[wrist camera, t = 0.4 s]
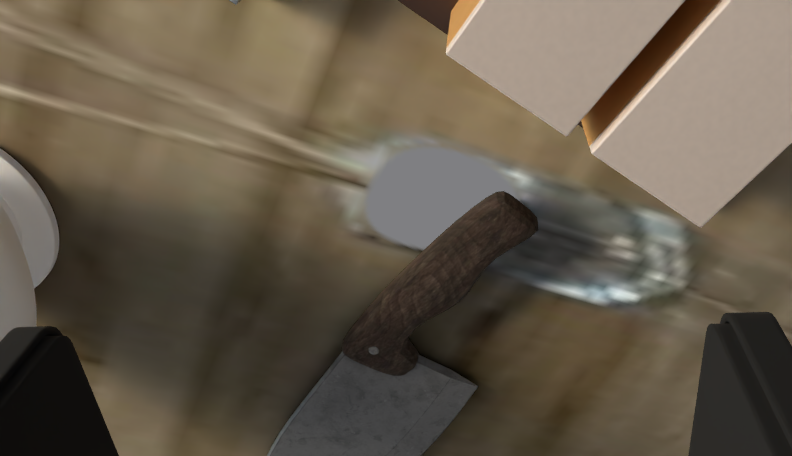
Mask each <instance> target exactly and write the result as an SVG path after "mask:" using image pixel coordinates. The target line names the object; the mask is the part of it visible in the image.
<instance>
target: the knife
mask: <svg viewBox="0 0 792 456" xmlns="http://www.w3.org/2000/svg"><path fill="white" fill-rule="evenodd" d="M229 1H231V2H232V3H234V4H237V3H239V2H240V1H241V0H229Z"/></svg>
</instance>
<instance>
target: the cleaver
mask: <svg viewBox="0 0 792 456" xmlns="http://www.w3.org/2000/svg"><path fill="white" fill-rule="evenodd" d="M537 231H538V220H537V217H536V216H535V215H534V214H533V213H532V211H531V210H530V209H528V208H527V207H526V206H525V205H523V204H522V203H521V202H520V201H518V200H517V199H516V198H514V197H513V196H512V195H510V194H508V193H506V192H504V191H502V192H496V193H494V194H492V195H490V196H489V197H487V198H485V199H484V200H483V201H481V202H480V203H478V204H477V205H476V206H474V207H473V208H472V209H470V210H469V211H468V212H467V213H466V214H464V215H463V216H462V217H461V218H459V219H458V220H457V221H456V222H454V223H453V224H452V225H451V226H450V227H449V228H448V229H446V230H445V231H444V232H443V233H442V234H441V235H440V236H439V237H438V238H436V240H434V241H433V242H432V243H431V244H430V245H429V246H428V247H427V248H426V249H425V250H424V251H423V252H421V253H420V254H419V255H418V256H417V257H416V258H415V259H414V260H413V261H412V262H411V263H410V264H409V265H408V266H407V267H406V268H405V269H404V270H403V271H402V272H401V273H400V274H399V275H398V276H397V277H396V278H395V279H394V280H393V281H392V282H391V283H390V284H389V285H388V286H387V287H386V288H385V289H384V290H383V291H382V292H381V293H380V294H379V296H378V297H377V298H376V299H375V300H374V301H373V302H372V304H371V305H370V306H369V307H368V308H367V309H366V311H365V312H364V313H363V314H362V315H361V317H360V318H359V319H358V320H357V321H356V323H355V324H354V325H353V327H352V328H351V329H350V330H349V332H348V333H347V335H346V336H345V338H344V341H343V345H342V352H341V353H340V355H339V356H338V357H337V358H336V360H335V361H334V362H333V364H332V365H331V366H330V367H329V369H328V370H327V371H326V372H325V374H324V375H323V376H322V377H321V379H320V380H319V381H318V382H317V384H316V385H315V386H314V388H313V389H312V390H311V391H310V393H309V394H308V395H307V396H306V398H305V399H304V400H303V401H302V403H301V404H300V405H299V407H298V408H297V409H296V410H295V412H294V413H293V414H292V416H291V417H290V418H289V420H288V421H287V423H286V424H285V425H284V427H283V428H282V430H281V431H280V433H279V435H278V436H277V438H276V440H275V442H274V443H273V445H272V447H271V449H270V451H269V453H268V455H267V456H421V455H422V454H423V453H424V452H425V451H426V450H427V449H428V448H429V447H430V446H431V445H432V444H433V443H434V442H435V441H436V440H437V438H438V437H439V436H440V435H441V434H442V433H443V431H444V430H445V429H446V428H447V427H448V426H449V424H450V423H451V422H452V421H453V419H454V418H455V417H456V415H457V414H458V413H459V412H460V410H461V409H462V408H463V406H464V405H465V404H466V402H467V401H468V400H469V398H470V397H471V396H472V394H473V393H474V391H475V390H476V389H477V387H478V386H477V385H475V384H474V383H472V382H470V381H469V380H467V379H466V378H464V377H462V376H461V375H459V374H457V373H456V372H454V371H452V370H451V369H449V368H446V367H444V366H442V365H440V364H438V363H436V362H434V361H431V360H429V359H427V358H425V357H423V356H421V355H419V354H418V351H417V350H416V348H415V347H414V346H413V344H412V343H411V342H410V341H409V339H408V337H409V336H410V335H411V333H412V332H413V331H414V330H415V328H417V327H418V326H420V325H421V324H422V323H424V322H425V321H427V320H429V319H431V318H432V317H434V316H436V315H438V314H440V313H442V312H444V311H446V310H447V309H449V308H451V307H452V306H454V305H455V304H457V303H458V302H460V301H461V300H462V299H463V298H464V297H465V295H466V294H467V293H468V292H469V291H470V289H471V288H472V286H473V285H474V284H475V282H476V281H477V279H478V278H479V276H480V275H481V273H482V272H483V271H484V269H485V268H486V267H487V266H488V265H489V264H490V263H491V262H493V261H494V260H495V259H496V258H497V257H499V256H500V255H502V254H503V253H505V252H506V251H508V250H510V249H511V248H513V247H514V246H516V245H518V244H520V243H521V242H523V241H525V240H527V239H528V238H530V237H531V236H532V235H533V234H534V233H536V232H537Z"/></svg>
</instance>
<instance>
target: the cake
mask: <svg viewBox="0 0 792 456" xmlns="http://www.w3.org/2000/svg"><path fill="white" fill-rule="evenodd" d="M446 48H447V49H446V55H447V56H449V57H450V58H452V59H453V60H455V61H456V62H458V63H459V64H461V65H462V66H464V67H465V68H466V69H468V70H469V71H471V72H472V73H474V74H475V75H477V76H478V77H480V78H481V79H483V80H484V81H486V82H487V83H488V84H490V85H491V86H493V87H494V88H496V89H497V90H499V91H500V92H502V93H503V94H505V95H506V96H508V97H509V98H510V99H512V100H513V101H515V102H516V103H518V104H519V105H521V106H522V107H524V108H525V109H527V110H528V111H530V112H531V113H532V114H534V115H535V116H537V117H538V118H540V119H541V120H543V121H544V122H546V123H547V124H549V125H550V126H552V127H553V128H555V129H556V130H557V131H559V132H560V133H562V134H563V135H565V136H568V135H569V134H570V133H571V131H572V130H573V129H574V128H575V127H576V126H577V125H578V123H579V122H580V121H581V122H582V125H583V129H584V132H585V135H586V138H587V141H588V144H589V147H590V150H591V153H592V154H593V155H594V156H596V157H597V158H598V159H600V160H601V161H603V162H604V163H606V164H607V165H609V166H610V167H612V168H613V169H615V170H616V171H618V172H619V173H620V174H622V175H623V176H625V177H626V178H628V179H629V180H631V181H632V182H634V183H635V184H637V185H638V186H640V187H641V188H642V189H644V190H645V191H647V192H648V193H650V194H651V195H653V196H654V197H656V198H657V199H659V200H660V201H662V202H663V203H665V204H666V205H667V206H669V207H670V208H672V209H673V210H675V211H676V212H678V213H679V214H681V215H682V216H684V217H685V218H687V219H688V220H689V221H691V222H692V223H694V224H695V225H697V226H698V227H702V226H704V225H705V224H706V223H707V222H708V221H709V220H710V219H711V218H712V217H713V216H714V215H715V214H716V213H717V212H719V211H720V210H721V209H722V208H723V207H724V206H725V205H726V204H727V203H728V202H729V201H730V200H731V199H732V198H734V197H735V196H736V195H737V194H738V193H739V192H740V191H741V190H742V189H743V188H744V187H745V186H746V185H747V184H749V183H750V182H751V181H752V180H753V179H754V178H755V177H756V176H757V175H758V174H759V173H760V172H761V171H762V170H764V169H765V168H766V167H767V166H768V165H769V164H770V163H771V162H772V161H773V160H774V159H775V158H776V157H777V156H779V155H780V154H781V153H782V152H783V151H784V150H785V149H786V148H787V147H788V146H789V145H790V144H791V143H792V0H458V2H457V3H456V5H455V6H454V8H453V9H452V11H451V15H450V23H449V31H448V39H447V47H446Z"/></svg>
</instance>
